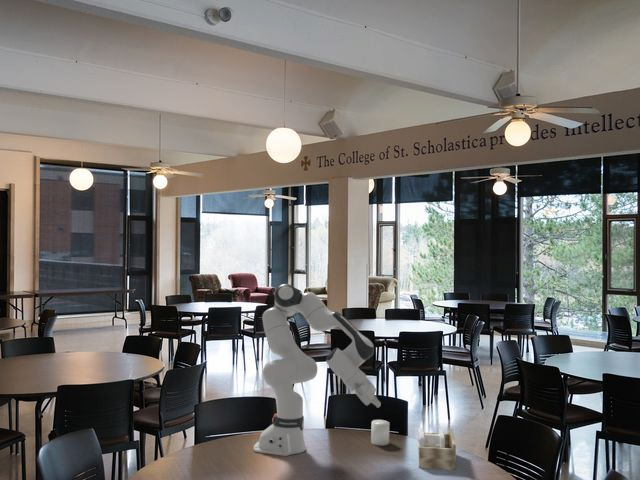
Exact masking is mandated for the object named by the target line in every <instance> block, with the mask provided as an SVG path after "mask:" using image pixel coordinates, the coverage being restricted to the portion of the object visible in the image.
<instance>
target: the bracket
mask: <svg viewBox="0 0 640 480" xmlns="http://www.w3.org/2000/svg"><path fill="white" fill-rule="evenodd" d="M453 431H454V430H453V429H451V428H450V429H449V431H448V433H444V437H445V448H435V447H419V454H418V468H419V469H420V468H422V469H431V470H432V469H434V470H448V471H456V467H457V466H456V464H457V463H456V458H457V455H456V454H457V453H456V451H457V450H456V449H457V447H456V446H457V444H456V439H455V436H454V432H453ZM424 434H438V435H439V432H438V433H435V432H424Z"/></svg>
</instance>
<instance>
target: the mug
mask: <svg viewBox="0 0 640 480" xmlns="http://www.w3.org/2000/svg"><path fill="white" fill-rule="evenodd" d="M370 428H371V429H370V431H371V433H370V443H371V444H372V445H374V446H387V445H389V444H390V422H389V421H387V420H384V419H373V420H372V421H371V426H370Z"/></svg>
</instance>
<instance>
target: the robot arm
mask: <svg viewBox="0 0 640 480" xmlns="http://www.w3.org/2000/svg"><path fill="white" fill-rule="evenodd" d="M299 313H300V314H301V315H302V317H304V319H305V320H306V322H307V323H308V325H309V326H310V328H311V329H313V330H315V331H316V332H326V331H329V330H331V329H334V328H340V329H341V330H342V332H344V333H345V334H346V336H348V337H349V338H350V339H351V343H349V345H348V346H347V347H346V348H344V349H343V350H341V349H340V348H338V347H335V348H334V349H332V350H331V351H330V352H329V354H327V356H326V359H325V362H326V363H327V365H328V366H329V368H330V369H331V371H332V372H333V373H334V374H335V375H336V377H339V378H340V380H341V381H342V382H343V384H344V385H345V386H346V387H347V388H348V389H349V391H351V392H354V393H355V395H356V396H357V397H358V399H360V401H361V402H362V403H363V404H364V405H365V406H369V405H371V404H372V405H374V406H375V407H376V408H378V409H379V408H380V407H381V404H382V403H381V401H380V400H379V399H378V398H377V395H376V391H377V389H376V386H375V385H374V384H373V382H372V381H371V380H370V379H369V378H368V377H367V376H368V375H367V374H366V373H365V372H364V371H362V370H361V369H360V368H359V367H360V366H362V364H364V363H365V362H366V361H368V360H369V359H370V358H371V357H373V355H374V353H375V345H374V343H373V342H372V341H371V340H370V339H369V338H368V337H367V336H365V335H364V334H363V333H362V332H361V331H359V330H358V328H357V327H356V326H355V325H354V324H353V323H351V321H350V320H348V319H347V318H346V317H345V316H344V314H341V313H340V312H339V311H332V310H331V309H329V308H328V306H327V305H325V303H324V301H322V300H321V298H320V297H319V296H317V294H315V293H314V292H312V291H309V292H308V291H307V292H305V293H303V292H302V291H301V290H300V289H299V288H296V287H295V286H293V285H291V284H289V283H286V284H285V283H284V284H280V285H279V286H278V287H277V288H276V290H275V292H274V305H273V307H270V308H268V309H266V310H265V311H263V313H262V317H261V318H262V325H263V331H264V334H265V338H266V341H267V342H268V343H267V344H268V346H269V349H270V351H271V352H272V353H273V354H275V355H277V356H279V357H280V359H275V360H272V361H269V362H267V363H265V365H264V367H263V369H262V377H263V381H265V383H266V384H267V385H269V386H270V387H271V389H272V390H273V391H274V393H275V396H276V411H277V413H274V415H273V417H272V420H271V422H272V423H271V424H270V425H269V426H268V427H267V428H266V429H264V430H263V431H262V432H261V434H260V436H259V440H258V441H257V442H256V443H255V444H254V445H253V452H255V453H261V454H268V455H276V456H282V457H287V456H290V455H291V456H292V455H296V454H301V453H304V451H306V449H307V446H306V444H305V443H306V442H305V437H304V428H305V418H304V415H303V413H304V399H303V397H302V395H301V394H299V392H297V391H294V387H293V385H294V384H301V383H307V382H308V381H311V380H314V379H315V378H316V377H317V374H318V363H316V361H315V359H314V358H312V357H310V356H308V355H307V354H306V353H305V352H303V350H301V349H300V347H299V346H298V345H297V343H296V341H295V340H294V337H293V334H292V332H291V331H292V330H291V328H290V326H289V323H288V321H289V320H290V319H292V318H294V317H295V316H296V315H297V314H299Z"/></svg>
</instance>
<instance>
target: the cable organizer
mask: <svg viewBox="0 0 640 480" xmlns="http://www.w3.org/2000/svg"><path fill="white" fill-rule="evenodd" d="M424 433H425V428H423V427H419V428H418V429H417V442H418V445H417V448H418V449H417V450H418V451H417V453H418V455H419V447H435V448H445V437H444V434H445V433H444V429H443V428H439V429H438V433H439V435H438V434H424Z"/></svg>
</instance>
